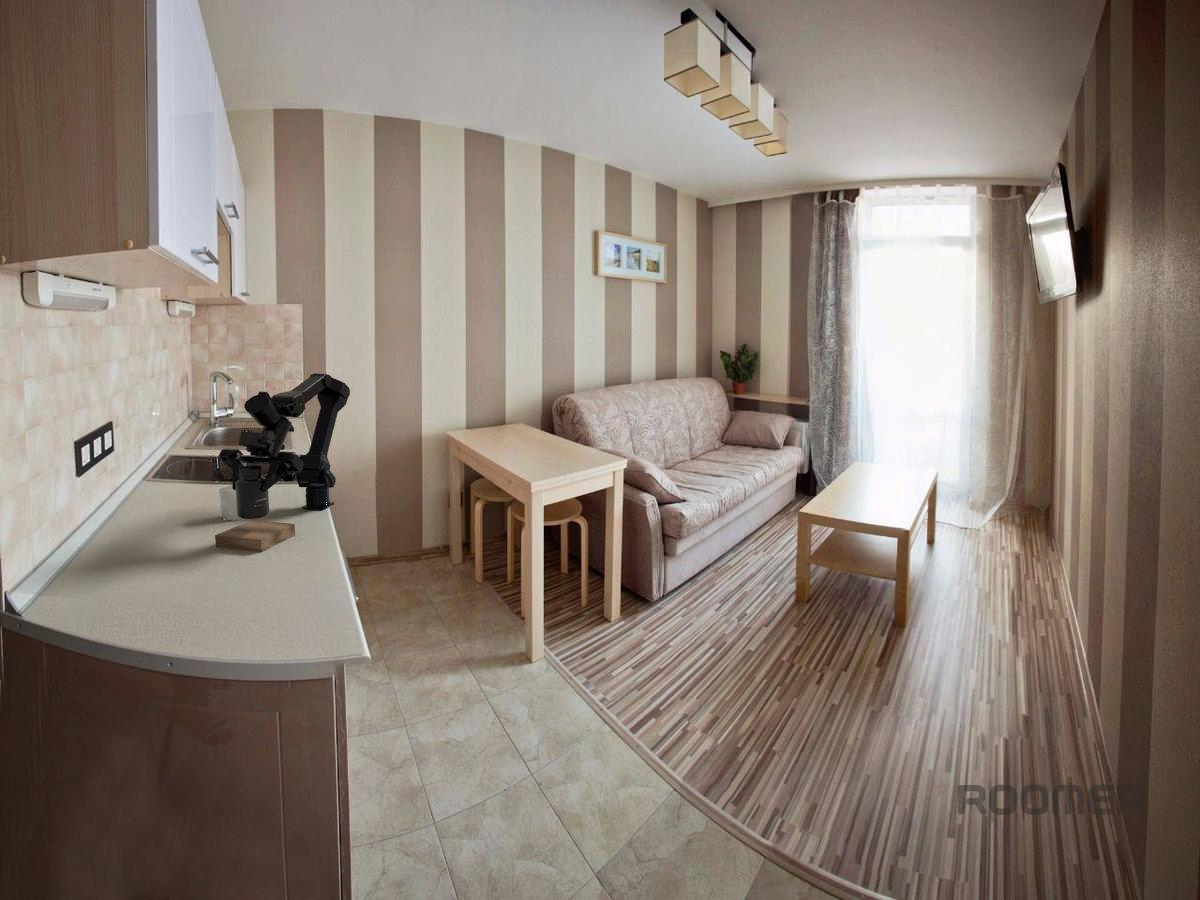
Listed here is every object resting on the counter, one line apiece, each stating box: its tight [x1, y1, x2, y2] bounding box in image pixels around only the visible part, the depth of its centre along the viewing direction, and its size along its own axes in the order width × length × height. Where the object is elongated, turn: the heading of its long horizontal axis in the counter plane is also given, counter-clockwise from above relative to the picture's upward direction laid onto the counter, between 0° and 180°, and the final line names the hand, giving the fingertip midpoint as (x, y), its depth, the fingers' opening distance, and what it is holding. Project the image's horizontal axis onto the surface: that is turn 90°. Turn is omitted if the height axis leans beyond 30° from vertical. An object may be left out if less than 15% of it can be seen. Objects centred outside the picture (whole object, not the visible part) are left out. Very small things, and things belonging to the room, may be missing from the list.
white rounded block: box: [219, 485, 243, 521], centre depth 162 cm, size 7×7×8 cm
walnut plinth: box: [214, 519, 296, 553], centre depth 145 cm, size 12×12×3 cm
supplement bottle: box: [235, 465, 270, 520], centre depth 143 cm, size 7×7×12 cm
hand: (248, 490), depth 141 cm, fingers closed on supplement bottle, 7 cm apart
